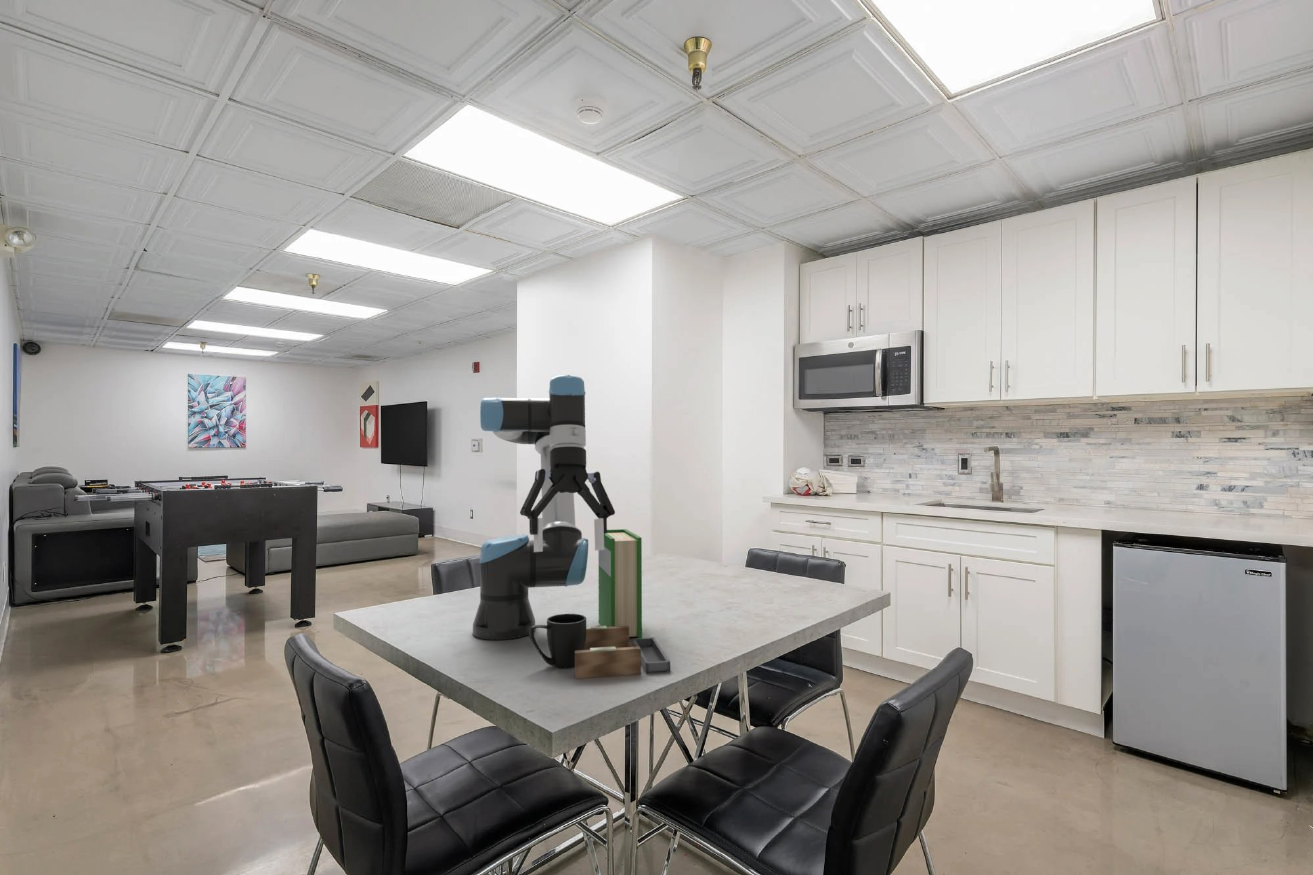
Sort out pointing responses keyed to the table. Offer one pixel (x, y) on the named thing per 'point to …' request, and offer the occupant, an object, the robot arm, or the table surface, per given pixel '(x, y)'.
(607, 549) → the hardback book
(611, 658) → the lane walls
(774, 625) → the table surface
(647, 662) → the tray
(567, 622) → the mug
